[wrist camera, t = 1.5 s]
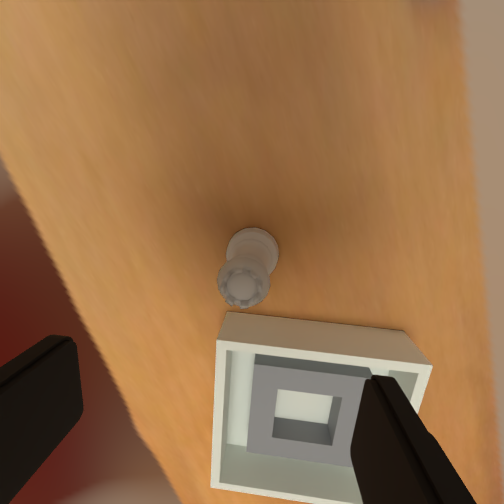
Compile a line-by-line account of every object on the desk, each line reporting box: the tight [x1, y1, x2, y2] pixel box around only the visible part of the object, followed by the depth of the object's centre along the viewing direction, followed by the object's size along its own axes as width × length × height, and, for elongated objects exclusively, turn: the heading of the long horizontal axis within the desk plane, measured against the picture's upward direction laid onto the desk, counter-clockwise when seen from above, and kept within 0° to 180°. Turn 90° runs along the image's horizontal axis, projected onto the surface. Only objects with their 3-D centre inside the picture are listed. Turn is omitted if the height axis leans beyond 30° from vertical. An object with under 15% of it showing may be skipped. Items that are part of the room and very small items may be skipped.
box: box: [211, 311, 433, 504], centre depth 24 cm, size 16×16×4 cm
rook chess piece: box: [217, 227, 279, 309], centre depth 19 cm, size 4×4×8 cm
